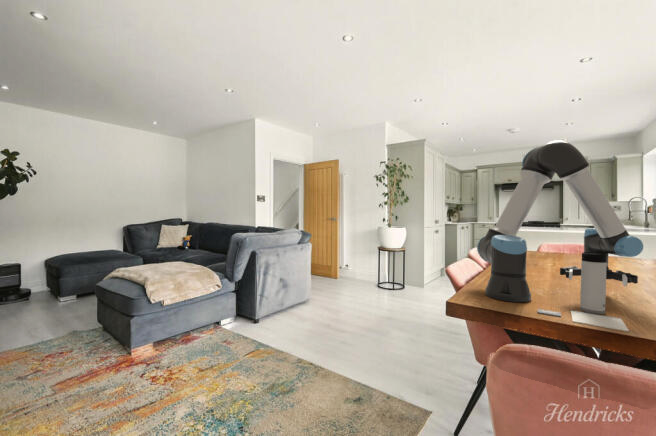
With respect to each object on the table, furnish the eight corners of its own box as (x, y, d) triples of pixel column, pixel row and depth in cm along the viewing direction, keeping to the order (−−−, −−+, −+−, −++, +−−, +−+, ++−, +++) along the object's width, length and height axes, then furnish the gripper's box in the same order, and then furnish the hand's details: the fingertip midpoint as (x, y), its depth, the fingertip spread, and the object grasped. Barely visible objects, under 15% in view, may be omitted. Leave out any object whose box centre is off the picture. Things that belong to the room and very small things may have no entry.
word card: (537, 313, 98) (537, 311, 98) (537, 310, 101) (537, 308, 101) (560, 317, 94) (560, 315, 94) (560, 313, 97) (560, 312, 97)
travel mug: (611, 315, 96) (613, 252, 96) (587, 313, 98) (589, 252, 97) (598, 309, 102) (599, 250, 102) (575, 307, 104) (577, 249, 103)
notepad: (572, 321, 90) (572, 320, 90) (570, 311, 100) (570, 310, 100) (628, 331, 83) (628, 330, 83) (620, 319, 92) (620, 318, 92)
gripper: (642, 284, 108) (651, 297, 92) (555, 274, 124) (549, 283, 108) (642, 264, 107) (652, 272, 91) (555, 256, 124) (550, 262, 108)
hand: (596, 278), depth 100 cm, fingers open, 13 cm apart
